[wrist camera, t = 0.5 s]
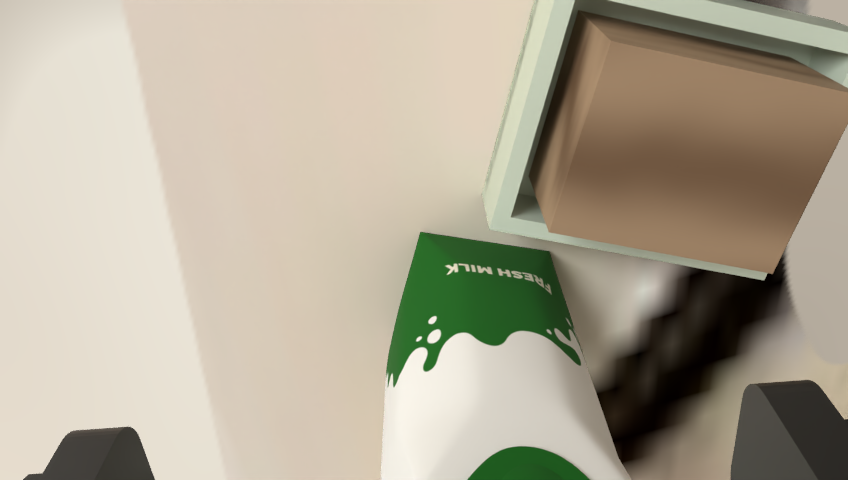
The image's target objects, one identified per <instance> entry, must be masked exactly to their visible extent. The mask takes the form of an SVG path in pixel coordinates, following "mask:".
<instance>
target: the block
mask: <svg viewBox="0 0 848 480" xmlns="http://www.w3.org/2000/svg"><path fill="white" fill-rule="evenodd" d="M847 124H848V88H847V87H845V86H843V85H841V84H840V83H838V82H836V81H834V80H832V79H830V78H828V77H826V76H825V75H823V74H821V73H819V72H817V71H815V70H813V69H812V68H810V67H808V66H806V65H804V64H802V63H800V62H799V61H797V60H795V59H793V58H791V57H789V56H784V55H779V54H775V53H770V52H766V51H761V50H757V49H752V48H748V47H743V46H739V45H734V44H730V43H725V42H721V41H716V40H712V39H707V38H703V37H698V36H693V35H689V34H684V33H680V32H675V31H671V30H666V29H662V28H657V27H653V26H648V25H644V24H639V23H635V22H630V21H626V20H621V19H617V18H612V17H607V16H603V15H598V14H594V13H589V12H585V11H580V10H578V13H577V16H576V19H575V23H574V26H573V29H572V33H571V36H570V39H569V43H568V46H567V49H566V53H565V56H564V59H563V63H562V66H561V69H560V73H559V76H558V79H557V83H556V86H555V89H554V93H553V96H552V99H551V103H550V106H549V109H548V113H547V116H546V119H545V123H544V126H543V129H542V133H541V136H540V139H539V143H538V146H537V149H536V153H535V156H534V159H533V163H532V166H531V169H530V173H529V179H530V182H531V184H532V187H533V190H534V193H535V195H536V198H537V201H538V204H539V207H540V209H541V212H542V215H543V218H544V220H545V223H546V226H547V229H548V232H550V233H555V234H560V235H566V236H571V237H576V238H582V239H587V240H593V241H598V242H603V243H609V244H614V245H620V246H625V247H630V248H636V249H641V250H647V251H652V252H657V253H663V254H668V255H673V256H679V257H684V258H690V259H695V260H700V261H706V262H711V263H717V264H722V265H727V266H733V267H738V268H744V269H749V270H754V271H760V272H765V273H770V274H773V272H774V270H775V268H776V266H777V264H778V262H779V260H780V258H781V256H782V254H783V252H784V250H785V248H786V246H787V244H788V242H789V240H790V238H791V236H792V234H793V232H794V230H795V228H796V226H797V224H798V222H799V220H800V218H801V216H802V214H803V212H804V210H805V208H806V206H807V204H808V202H809V200H810V198H811V196H812V194H813V192H814V190H815V188H816V186H817V184H818V182H819V180H820V178H821V176H822V174H823V172H824V170H825V168H826V166H827V164H828V162H829V160H830V158H831V156H832V154H833V152H834V150H835V148H836V146H837V144H838V142H839V140H840V138H841V136H842V134H843V132H844V130H845V128H846V126H847Z"/></svg>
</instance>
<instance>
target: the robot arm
mask: <svg viewBox="0 0 848 480" xmlns="http://www.w3.org/2000/svg"><path fill="white" fill-rule="evenodd" d="M23 480H155V479H154V476H153V474H152V471H151V468H150V465H149V462H148V460H147V457H146V454H145V451H144V449H143V446H142V443H141V441H140V438H139V436H138V434H137V432H136V431H135V430H134V429H133V428H131V427H118V428H105V429H91V430H77V431H72V432H70V433H69V434H67V435H66V436H65V438H64V439H63V440H62V442H61V443H60V445H59V447H58V449H57V450H56V452H55V453H54V455H53V457H52V459H51V460H50V462H49V464H48V465H47V467H46V469H45V471H44V472H43V474H29V475H28V476H27V477H25V478H24V479H23ZM731 480H848V419H845V420H844V419H843V417H842V416H841V415H840V413H839V412H838V411H837V409H836V408H835V407H834V405H833V404H832V403H831V401H830V400H829V398H828V397H827V396H826V394H825V393H824V392H823V390H822V389H821V388H820V387H819V386H818V385H817V384H816V383H815V382H813V381H810V380H801V381H787V382H773V383H759V384H750V385H748V386H747V387H746V389H745V391H744V393H743V398H742V404H741V410H740V416H739V422H738V428H737V435H736V441H735V447H734V453H733V459H732V465H731Z"/></svg>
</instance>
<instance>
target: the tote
mask: <svg viewBox="0 0 848 480" xmlns="http://www.w3.org/2000/svg"><path fill="white" fill-rule="evenodd" d="M578 10H580V11H585V12H589V13H594V14H598V15H603V16H607V17H612V18H617V19H621V20H626V21H630V22H635V23H639V24H644V25H648V26H653V27H657V28H662V29H666V30H671V31H675V32H680V33H684V34H689V35H693V36H698V37H703V38H707V39H712V40H716V41H721V42H725V43H730V44H734V45H739V46H743V47H748V48H752V49H757V50H761V51H766V52H770V53H775V54H779V55H784V56H789V57H791V58H793V59H795V60H797V61H799V62H800V63H802V64H804V65H806V66H808V67H810V68H812V69H813V70H815V71H817V72H819V73H821V74H823V75H825V76H826V77H828V78H830V79H832V80H834V81H836V82H838V83H840V84H841V85H843V86H845V87H847V88H848V26H845V25H843V24H840V23H838V22H835V21H832V20H828V19H824V18H819V17H815V16H811V15H806V14H802V13H797V12H793V11H789V10H784V9H780V8H776V7H771V6H767V5H762V4H758V3H754V2H749V1H745V0H534V4H533V8H532V11H531V15H530V19H529V22H528V26H527V30H526V33H525V37H524V41H523V44H522V48H521V52H520V55H519V59H518V63H517V66H516V70H515V74H514V78H513V81H512V85H511V89H510V92H509V96H508V100H507V103H506V107H505V111H504V114H503V118H502V122H501V125H500V129H499V133H498V136H497V140H496V144H495V148H494V151H493V155H492V159H491V162H490V166H489V170H488V173H487V177H486V181H485V184H484V188H483V192H482V197H483V202H484V207H485V211H486V216H487V221H488V226H489V230H494V231H499V232H505V233H510V234H515V235H521V236H526V237H532V238H537V239H542V240H548V241H553V242H559V243H564V244H570V245H575V246H580V247H586V248H591V249H597V250H602V251H608V252H613V253H618V254H624V255H629V256H635V257H640V258H646V259H651V260H656V261H662V262H667V263H673V264H678V265H684V266H689V267H694V268H700V269H705V270H711V271H716V272H722V273H727V274H732V275H738V276H743V277H749V278H754V279H760V280H765V278H766V276H767V274H768V273H765V272H760V271H754V270H749V269H744V268H738V267H733V266H727V265H722V264H717V263H711V262H706V261H700V260H695V259H690V258H684V257H679V256H673V255H668V254H663V253H657V252H652V251H647V250H641V249H636V248H630V247H625V246H620V245H614V244H609V243H603V242H598V241H593V240H587V239H582V238H576V237H571V236H566V235H560V234H555V233H550V232H548V229H547V226H546V223H545V220H544V218H543V215H542V212H541V209H540V207H539V204H538V201H537V198H536V195H535V193H534V190H533V187H532V184H531V182H530V179H529V173H530V169H531V166H532V163H533V159H534V156H535V153H536V149H537V146H538V143H539V139H540V136H541V133H542V129H543V126H544V123H545V119H546V116H547V113H548V109H549V106H550V103H551V99H552V96H553V93H554V89H555V86H556V83H557V79H558V76H559V73H560V69H561V66H562V63H563V59H564V56H565V53H566V49H567V46H568V43H569V39H570V36H571V33H572V29H573V26H574V23H575V19H576V16H577V13H578Z"/></svg>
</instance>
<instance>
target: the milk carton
mask: <svg viewBox="0 0 848 480" xmlns="http://www.w3.org/2000/svg"><path fill="white" fill-rule="evenodd" d="M381 480H632V479H631V478H630V476H629V475H628V473H627V471H626V470H625V468H624V466H623V465H622V463H621V461H620V460H619V458H618V455H617V452H616V449H615V447H614V444H613V441H612V438H611V435H610V432H609V429H608V426H607V423H606V420H605V417H604V414H603V411H602V408H601V406H600V403H599V400H598V397H597V394H596V391H595V388H594V385H593V382H592V379H591V376H590V373H589V370H588V367H587V365H586V362H585V359H584V356H583V353H582V350H581V347H580V344H579V341H578V338H577V335H576V332H575V329H574V326H573V323H572V320H571V317H570V313H569V310H568V307H567V304H566V301H565V298H564V295H563V292H562V289H561V287H560V284H559V280H558V277H557V274H556V271H555V268H554V265H553V262H552V259H551V256H550V252H549V251H543V250H537V249H530V248H523V247H517V246H510V245H503V244H497V243H490V242H483V241H477V240H470V239H463V238H457V237H450V236H443V235H437V234H430V233H423V232H420V235H419V239H418V243H417V246H416V250H415V253H414V257H413V260H412V264H411V267H410V271H409V274H408V278H407V281H406V285H405V288H404V292H403V295H402V299H401V303H400V306H399V311H398V315H397V319H396V323H395V327H394V332H393V336H392V341H391V345H390V350H389V356H388V362H387V370H386V384H385V403H384V421H383V441H382V460H381Z"/></svg>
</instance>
